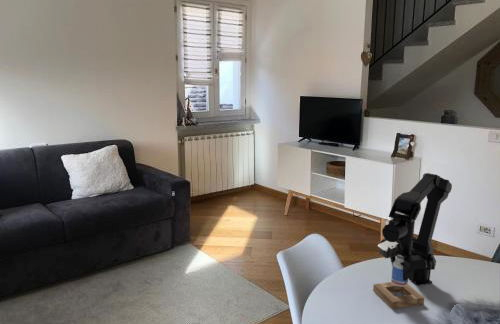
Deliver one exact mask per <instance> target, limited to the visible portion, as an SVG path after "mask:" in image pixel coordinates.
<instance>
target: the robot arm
mask: <svg viewBox="0 0 500 324" xmlns="http://www.w3.org/2000/svg"><path fill="white" fill-rule="evenodd" d="M452 187H453V185H452V183H451V182H450V180H449V179H445V178H443V177H441V176H440V175H438V174H435V173H434V174H433V173H430V172H426V173H424V174H422V178H421V179H419V181H418V182H417V183H416V184H415V185H414V186H413V187H412V188H411V190H409V191H406V192H402V193H401V194H399V195H398V196H397V197H396V198H395V200H394V202H393V204H392V206H391V209H390V212H389V214H388V217H389V218H392V219H390V220H389V221H388V224H386V225H384V227H383V228H382V230H381V232H382V236H383V239H382V240H381V241H380V243H379V244H377V248H378V251H379V255H381V256H383V257H384V259H390V262H391V266H393V262H394V261H395V257H396V255H398V254H399V255H400V256H402V257H404V258H405V259H404V262H403V263H400V264H401V265H402V266H403V280H404V281H406V280H407V279H408V280H410V281H412V283H414V284H415V285H418V286H421V285H427V284H429V285H430V284H433V281H432V280H430V279H431V271H432V270H433V271H434V270H436V265H437V264H436V263H437V260H436V258H435V256H434V251H435V250H434V247H433V244H432V240H433V236H434V232H435V228H436V224H437V220H438V217H439V213H440V209H441V205H442V203H443V202H445V200H447V199H448V197H449V194H450V193H451V191H452V189H453V188H452ZM425 198H426V200H427V202H426V205H425V208H424V213H423V216H422V219H421V224H420V228H419V232H418V234H417V237H415V236H414V232H415V226H416V225H415V223H416V220H417V219H418V216H419V215H420V211H421V210H422V207H421V206H422V205H421V203H422V202H423V201H424V200H425Z"/></svg>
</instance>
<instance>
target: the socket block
mask: <svg viewBox="0 0 500 324" xmlns="http://www.w3.org/2000/svg"><path fill="white" fill-rule="evenodd" d="M372 287H373V289H372V291H373V292H374V293H375V295H377V296H378V297H379V298H380V299H381V300H382V301H383V302H385V304H386V305H388V307H389V308H390V309H392V310H393V309H400V308H409V307H416V306H423V305H425V297H424V296H423V295H422V294H420V293H419V292H418V291H417V290H415V289H414V288H413V287H412V286H411V285H410V284H407V285H406V286H403V287H401V286H396V285H394V284H393V283H392V282H391V281H390V282H381V283H375V284H373V286H372ZM400 292H401V294H403V295H400V296H395V295H394V293H400Z"/></svg>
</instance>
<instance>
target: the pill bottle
mask: <svg viewBox="0 0 500 324" xmlns="http://www.w3.org/2000/svg"><path fill="white" fill-rule="evenodd" d="M404 259H405V258H404V257H402V256H400V255H399V254H398V255H396V257H395V261H394V262H393V266H392V265H391V266H392V268H391V279H390V280H391V281H390V282H392V283H393V284H394V285H396V286H401V287H403V286H406V285H407V284H408V283H409V278H408V279H407V280H406V281H404V280H403V266H402V265H401V264H400V263H403V262H404ZM408 285H409V284H408Z"/></svg>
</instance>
